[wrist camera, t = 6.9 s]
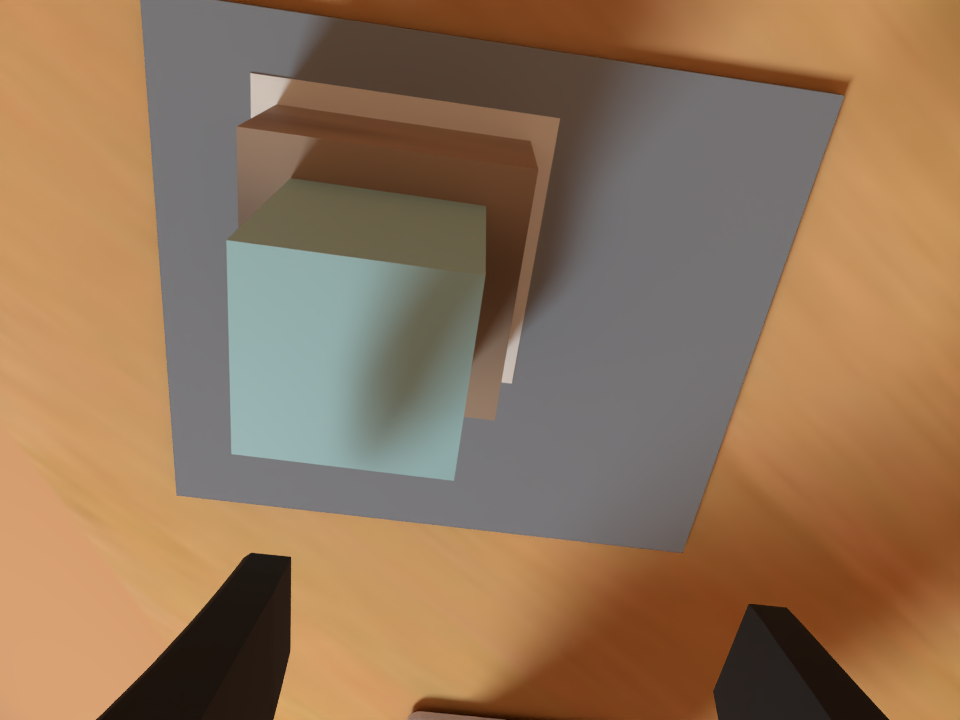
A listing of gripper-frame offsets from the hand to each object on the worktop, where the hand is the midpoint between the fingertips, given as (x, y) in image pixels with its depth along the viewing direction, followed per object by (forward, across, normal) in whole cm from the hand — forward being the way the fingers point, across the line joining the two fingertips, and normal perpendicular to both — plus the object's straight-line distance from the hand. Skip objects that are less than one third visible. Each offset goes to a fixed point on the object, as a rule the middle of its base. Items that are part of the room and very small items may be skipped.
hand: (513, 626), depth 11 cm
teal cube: (+6, +3, -3) cm, 8 cm away
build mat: (+10, +1, -1) cm, 10 cm away
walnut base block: (+9, +3, -3) cm, 10 cm away
